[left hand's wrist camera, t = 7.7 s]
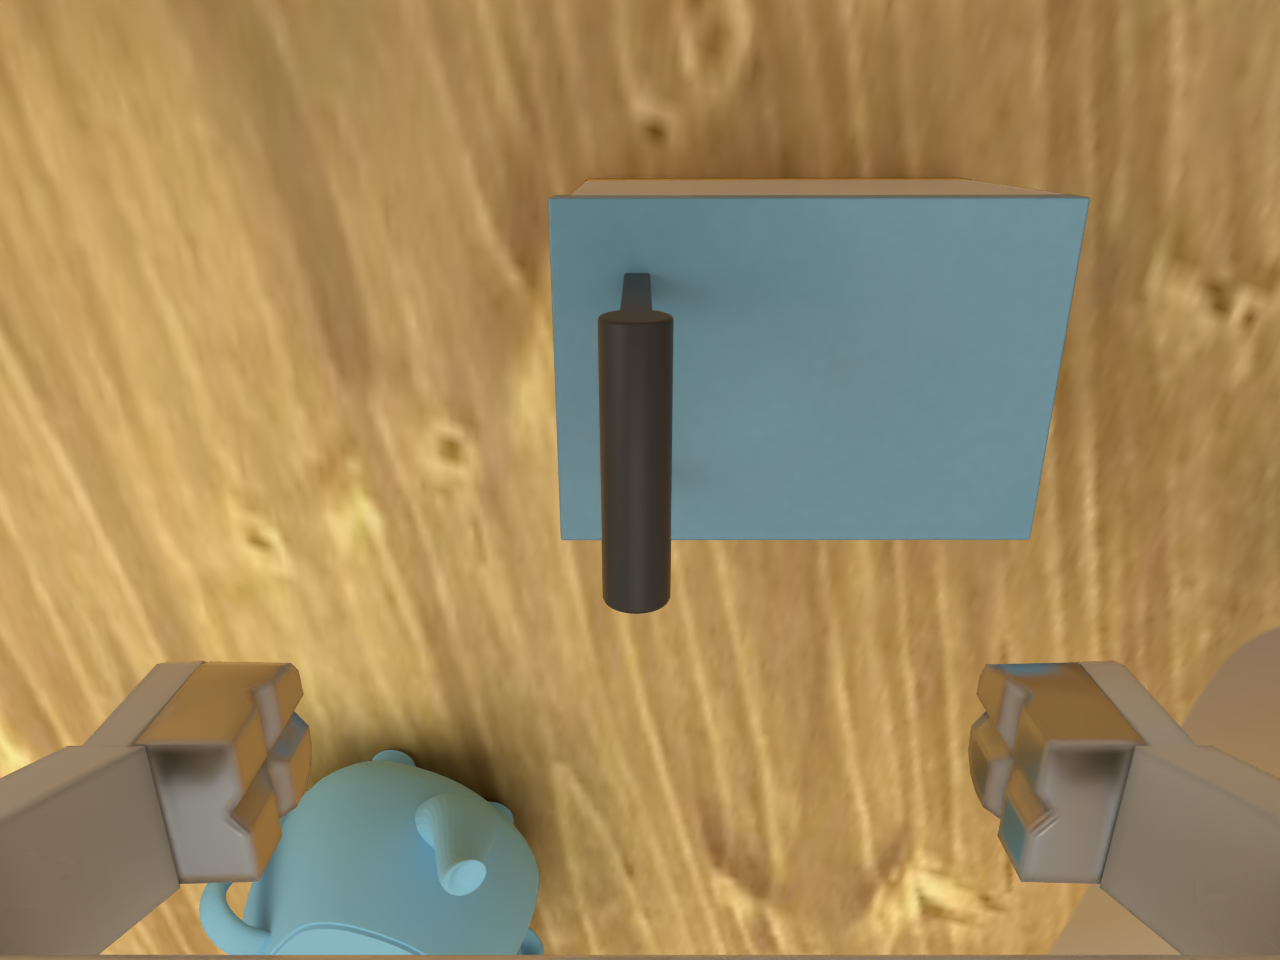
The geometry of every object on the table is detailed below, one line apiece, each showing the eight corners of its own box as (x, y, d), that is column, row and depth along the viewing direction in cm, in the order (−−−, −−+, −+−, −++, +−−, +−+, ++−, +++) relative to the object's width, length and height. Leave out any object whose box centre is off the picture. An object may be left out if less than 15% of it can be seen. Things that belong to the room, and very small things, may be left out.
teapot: (319, 925, 46) (231, 1167, 36) (239, 705, 40) (107, 919, 30) (561, 903, 46) (543, 1142, 35) (516, 678, 40) (478, 885, 29)
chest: (592, 435, 36) (578, 523, 28) (586, 178, 32) (568, 194, 24) (930, 435, 36) (1013, 523, 28) (962, 178, 32) (1069, 194, 24)
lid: (563, 524, 28) (532, 684, 20) (552, 194, 24) (507, 227, 16) (1014, 523, 28) (1166, 684, 20) (1069, 194, 24) (1284, 225, 16)
